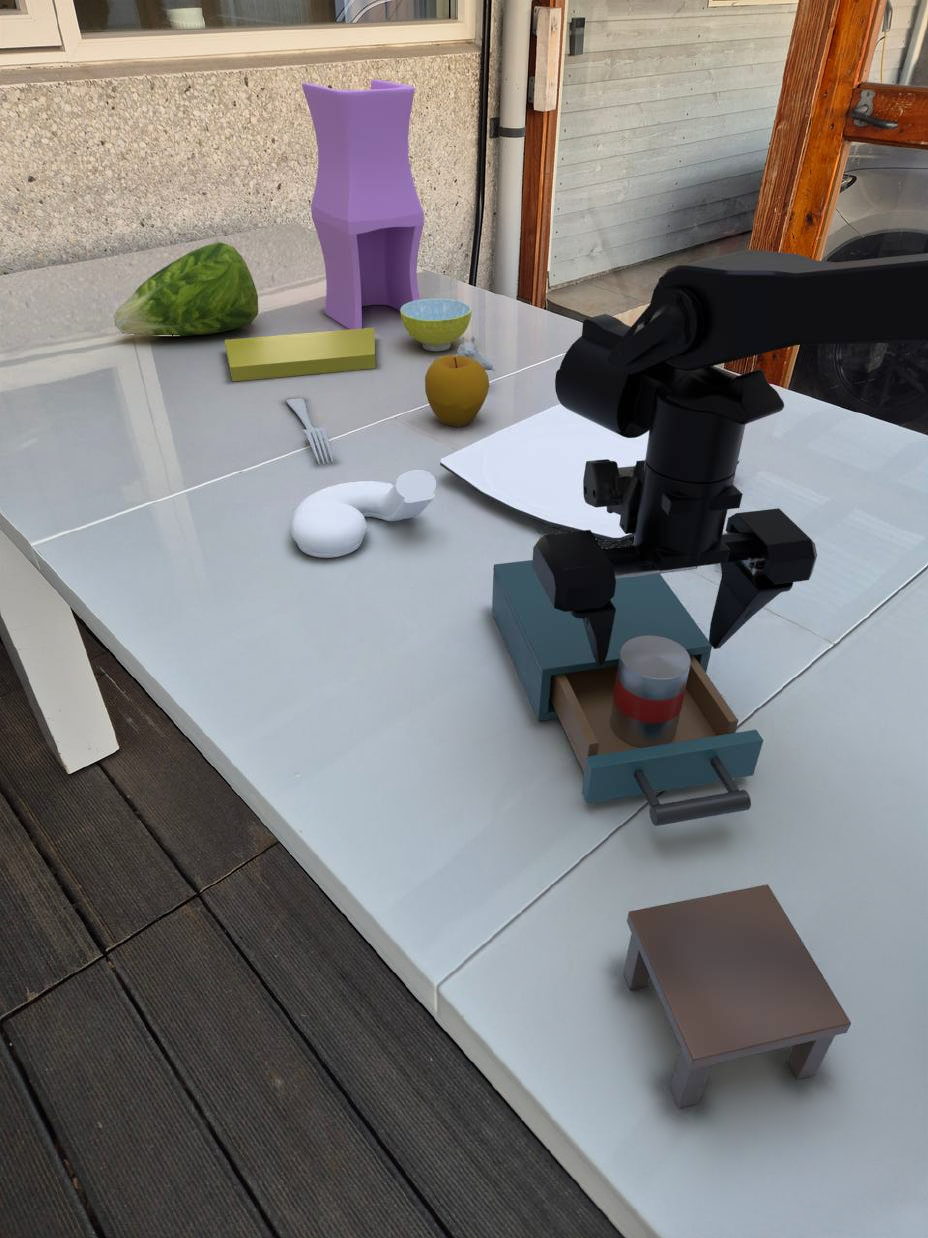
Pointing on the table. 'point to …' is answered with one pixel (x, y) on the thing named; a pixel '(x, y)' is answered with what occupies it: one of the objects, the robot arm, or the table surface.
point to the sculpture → (357, 511)
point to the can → (649, 690)
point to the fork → (311, 429)
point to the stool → (732, 984)
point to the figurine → (473, 353)
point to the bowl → (436, 321)
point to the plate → (548, 469)
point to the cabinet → (581, 628)
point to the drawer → (657, 747)
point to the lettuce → (193, 296)
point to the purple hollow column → (365, 198)
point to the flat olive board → (301, 354)
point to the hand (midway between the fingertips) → (656, 653)
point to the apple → (456, 389)
